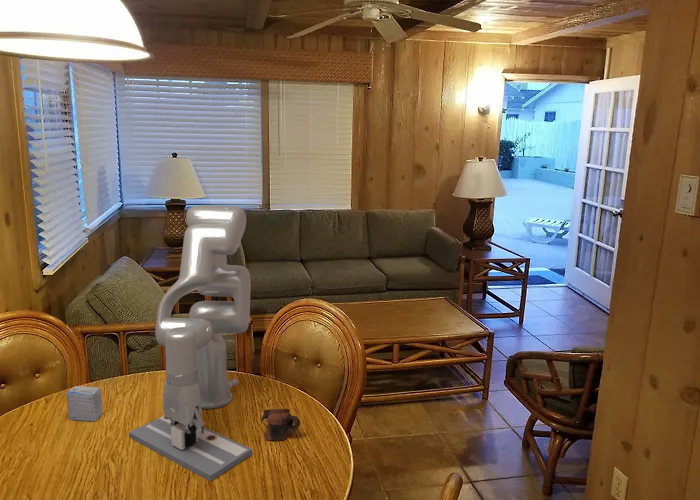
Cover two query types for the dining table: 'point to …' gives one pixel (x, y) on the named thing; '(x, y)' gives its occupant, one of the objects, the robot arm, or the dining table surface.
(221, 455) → the gauge board
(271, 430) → the pottery mug
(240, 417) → the dining table surface
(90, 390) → the medicine box
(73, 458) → the dining table surface
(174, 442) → the white block with pointer
